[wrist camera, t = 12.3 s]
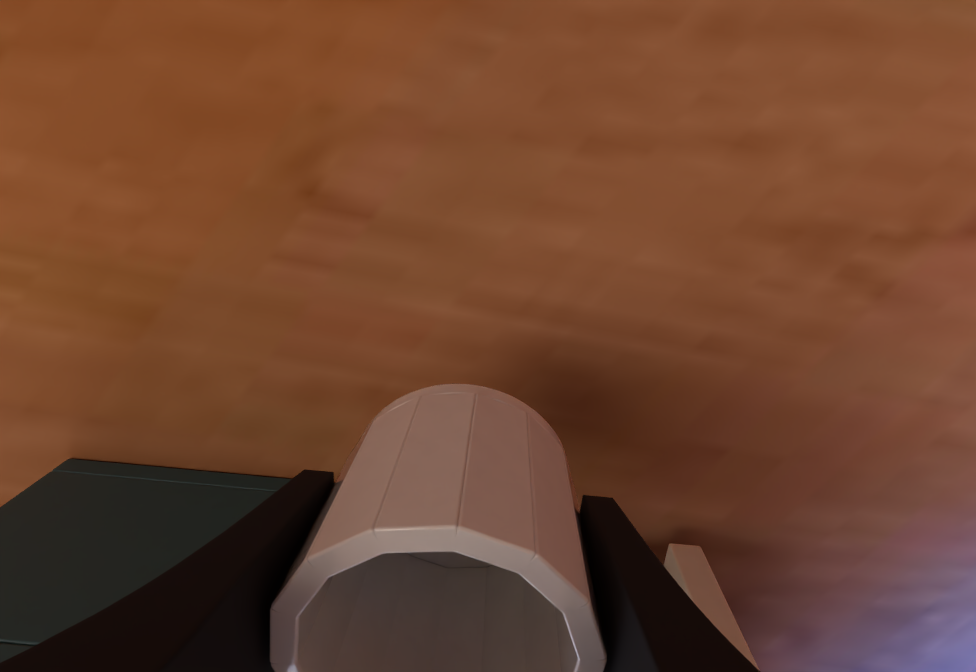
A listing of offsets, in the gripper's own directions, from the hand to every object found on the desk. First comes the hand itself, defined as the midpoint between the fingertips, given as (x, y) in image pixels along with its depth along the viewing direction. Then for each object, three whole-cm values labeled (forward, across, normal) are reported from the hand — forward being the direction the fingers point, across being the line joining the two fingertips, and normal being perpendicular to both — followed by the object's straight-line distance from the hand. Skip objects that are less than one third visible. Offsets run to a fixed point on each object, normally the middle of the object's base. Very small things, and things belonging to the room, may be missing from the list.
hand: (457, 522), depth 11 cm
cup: (+1, 0, 0) cm, 1 cm away
